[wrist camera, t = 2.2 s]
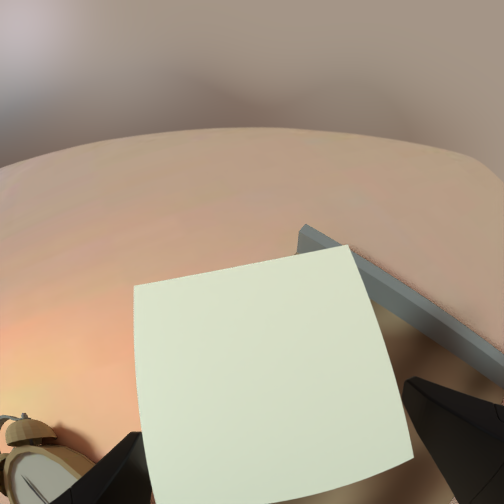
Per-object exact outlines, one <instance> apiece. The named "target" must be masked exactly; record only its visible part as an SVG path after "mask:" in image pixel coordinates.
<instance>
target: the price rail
mask: <svg viewBox="0 0 504 504" xmlns="http://www.w3.org/2000/svg"><path fill="white" fill-rule="evenodd" d="M338 246H343V245H341V244H339V243H338V242H336V241H334V240H333V239H331V238H329V237H328V236H326V235H324V234H322V233H321V232H319V231H317V230H316V229H314V228H312V227H310V226H309V225H307V224H305V225H304V226H303V227H302V229H301V230H300V231H299V236H298V246H297V252H298V253H299V254H303V253H308V252H313V251H318V250H323V249H328V248H333V247H338ZM350 251H351V250H350ZM351 254H352V256H353V258H354V261H355V263H356V266H357V268H358V271H359V273H360V276H361V278H362V281H363V283H364V286H365V289H366V291H367V294H368V297H369V298H370V299H372V300H373V301H375V302H376V303H378V304H379V305H381V306H382V307H384V308H385V309H387V310H389V311H390V312H392V313H393V314H395V315H396V316H398V317H399V318H401V319H402V320H404V321H405V322H407V323H408V324H410V325H411V326H413V327H414V328H416V329H417V330H419V331H420V332H422V333H423V334H425V335H426V336H428V337H429V338H431V339H432V340H434V341H435V342H436V343H438V344H439V345H441V346H442V347H444V348H445V349H447V350H448V351H450V352H451V353H453V354H454V355H455V356H457V357H458V358H460V359H461V360H463V361H464V362H466V363H467V364H468V365H470V366H471V367H473V368H474V369H476V370H477V371H478V372H480V373H481V374H483V375H484V376H485V377H487V378H488V379H490V380H491V381H493V382H494V383H495V384H497V385H498V386H499V387H501V388H502V389H504V354H502V353H501V352H500V351H498V350H497V349H496V348H495V347H493V346H492V345H491V344H489V343H488V342H487V341H485V340H484V339H483V338H481V337H480V336H479V335H477V334H476V333H474V332H473V331H472V330H470V329H469V328H468V327H466V326H465V325H463V324H462V323H461V322H459V321H458V320H456V319H455V318H454V317H452V316H451V315H449V314H448V313H446V312H445V311H444V310H442V309H441V308H439V307H438V306H436V305H435V304H433V303H432V302H431V301H429V300H428V299H426V298H425V297H423V296H422V295H420V294H419V293H417V292H416V291H414V290H413V289H411V288H410V287H408V286H407V285H405V284H403V283H402V282H400V281H399V280H397V279H396V278H394V277H393V276H391V275H390V274H388V273H386V272H385V271H383V270H382V269H380V268H378V267H377V266H375V265H374V264H372V263H370V262H369V261H367V260H366V259H364V258H362V257H361V256H359V255H358V254H356V253H354V252H353V251H351Z"/></svg>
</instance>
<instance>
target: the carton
mask: <svg viewBox="0 0 504 504" xmlns="http://www.w3.org/2000/svg"><path fill="white" fill-rule="evenodd" d="M134 351H135V370H136V383H137V395H138V405H139V414H140V422H141V429H142V436H143V443H144V449H145V455H146V460H147V466H148V471H149V476H150V480H151V485H152V489H153V494H154V498H155V502H156V504H269V503H275V502H281V501H287V500H292V499H297V498H301V497H306V496H310V495H314V494H318V493H322V492H325V491H329V490H333V489H336V488H339V487H342V486H346V485H349V484H352V483H355V482H358V481H360V480H363V479H366V478H369V477H371V476H374V475H376V474H379V473H381V472H384V471H386V470H388V469H391V468H393V467H395V466H398V465H400V464H402V463H404V462H406V461H408V460H410V459H412V458H414V456H413V450H412V445H411V440H410V436H409V431H408V426H407V422H406V418H405V413H404V409H403V405H402V401H401V398H400V394H399V390H398V386H397V383H396V379H395V376H394V372H393V369H392V365H391V362H390V359H389V355H388V352H387V349H386V346H385V343H384V340H383V337H382V333H381V330H380V328H379V325H378V322H377V319H376V316H375V313H374V310H373V308H372V305H371V302H370V299H369V297H368V294H367V291H366V289H365V286H364V283H363V281H362V278H361V276H360V273H359V271H358V268H357V266H356V263H355V261H354V258H353V256H352V254H351V251H350V249H349V246H348V244H347V245H343V246H338V247H333V248H328V249H323V250H318V251H313V252H308V253H303V254H298V255H293V256H288V257H283V258H278V259H273V260H268V261H263V262H258V263H253V264H248V265H243V266H238V267H233V268H227V269H222V270H217V271H212V272H207V273H201V274H196V275H191V276H185V277H180V278H175V279H169V280H164V281H159V282H153V283H148V284H142V285H137V286H134Z"/></svg>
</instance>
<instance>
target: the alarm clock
mask: <svg viewBox="0 0 504 504" xmlns="http://www.w3.org/2000/svg"><path fill="white" fill-rule="evenodd" d="M21 416H22V418H17V417H14V416H7V415H2V416H0V430H1V427H2V425H3V424H4V422H6V421H7V420H9V419H11V420H15V421H16V422H14V423H12V424H11V425H9V427H8V428H7V430H6V442H7V445H8V446H13V447H14V448H13V449H12V451H11V452H10V453H9V454H8V453H3V454H1V452H0V492H1V493H2V494H3V495H5V496H7V497H8V498H9V501H10V504H49V503H50V502H52V501H53V500H55V499H56V498H57V497H58V496H60V495H61V494H62V493H63V492H65V491H66V490H67V489H68V488H69V487H70V488H71V486H72V485H73V484H74V483H75V482H76V481H77V480H79V479H80V478H81V477H82V476H83V475H84V474H85V473H87V472H88V471H89V470H90V469H91V468H92V467H93V466H94V465H95V463H94V462H92V461H91V460H90V459H88V458H87V457H86V456H85V455H83V454H81V453H79V452H76V451H74V450H72V449H70V448H68V447H66V446H59V445H52V444H47V445H40V444H42V437H54V439H55V440H56V439H57V437H56V435H55V433H54V432H53V430H52V429H51V428H50V427H49V426H48V425H46V424H45V423H43V422H41V421H38V420H33V419H31V418H28V416H27V414H26V413H22V415H21ZM15 447H16V448H15Z"/></svg>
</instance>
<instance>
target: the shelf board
mask: <svg viewBox="0 0 504 504" xmlns="http://www.w3.org/2000/svg"><path fill="white" fill-rule="evenodd" d="M298 254H299V253H298V252H297V253H296V254H295V255H298ZM369 299H370V298H369ZM370 302H371V305H372V308H373V310H374V313H375V316H376V319H377V322H378V325H379V328H380V330H381V333H382V337H383V340H384V343H385V346H386V349H387V352H388V355H389V359H390V362H391V365H392V369H393V372H394V376H395V379H396V383H397V386H398V390H399V394H400V398H401V401H402V391H403V385H404V381H405V380H406V379H408V378H411V377H413V376H417V377H420V378H423V379H425V380H428V381H431V382H433V383H436V384H439V385H442V386H445V387H447V388H450V389H453V390H456V391H459V392H462V393H465V394H468V395H471V396H474V397H477V398H480V399H483V400H486V401H489V402H493V403H494V404H495V403H496V404H499V405H501V403H502V400H503V397H504V389H502V388H501V387H499V386H498V385H497V384H495V383H494V382H493V381H491V380H490V379H488V378H487V377H485V376H484V375H483V374H481V373H480V372H478V371H477V370H476V369H474V368H473V367H471V366H470V365H468V364H467V363H466V362H464V361H463V360H461V359H460V358H458V357H457V356H455V355H454V354H453V353H451V352H450V351H448V350H447V349H445V348H444V347H442V346H441V345H439V344H438V343H436V342H435V341H434V340H432V339H431V338H429V337H428V336H426V335H425V334H423V333H422V332H420V331H419V330H417V329H416V328H414V327H413V326H411V325H410V324H408V323H407V322H405V321H404V320H402V319H401V318H399V317H398V316H396V315H395V314H393V313H392V312H390V311H389V310H387V309H385V308H384V307H382V306H381V305H379V304H378V303H376V302H375V301H373V300H372V299H370ZM402 405H403V409H404V413H405V418H406V422H407V426H408V431H409V436H410V440H411V445H412V450H413V456H414V458H412V459H410V460H408V461H406V462H404V463H402V464H400V465H398V466H395V467H393V468H391V469H388V470H386V471H384V472H381V473H379V474H376V475H374V476H371V477H369V478H366V479H363V480H360V481H358V482H355V483H352V484H349V485H346V486H342V487H339V488H336V489H333V490H329V491H325V492H322V493H318V494H314V495H310V496H306V497H301V498H297V499H292V500H287V501H281V502H275V503H269V504H449V503H450V501H451V500H452V498H453V497H454V494H453V493H452V491H451V489H450V487H449V486H448V484H447V482H446V480H445V479H444V477H443V475H442V474H441V472H440V470H439V469H438V467H437V465H436V464H435V462H434V460H433V459H432V457H431V455H430V454H429V452H428V450H427V449H426V447H425V445H424V444H423V442H422V441H421V439H420V437H419V436H418V434H417V432H416V430H415V428H414V426H413V423H412V421H411V419H410V417H409V415H408V413H407V410H406V408H405V406H404V404H403V402H402Z"/></svg>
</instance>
